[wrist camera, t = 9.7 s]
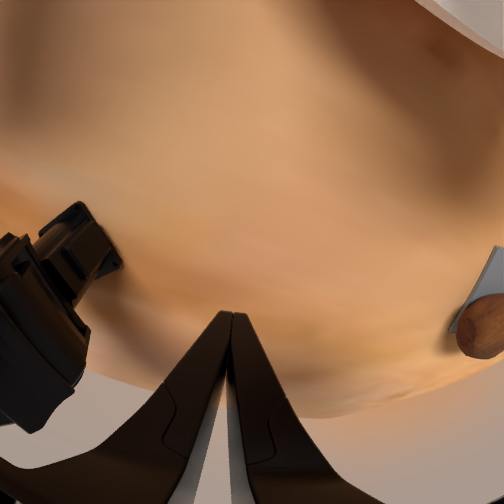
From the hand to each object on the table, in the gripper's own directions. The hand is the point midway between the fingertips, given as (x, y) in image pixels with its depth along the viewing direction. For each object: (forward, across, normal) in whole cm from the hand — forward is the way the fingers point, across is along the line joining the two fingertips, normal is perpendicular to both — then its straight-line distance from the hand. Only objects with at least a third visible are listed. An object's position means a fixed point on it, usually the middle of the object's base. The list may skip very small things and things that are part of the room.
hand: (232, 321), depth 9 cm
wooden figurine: (+8, -22, +9) cm, 25 cm away
